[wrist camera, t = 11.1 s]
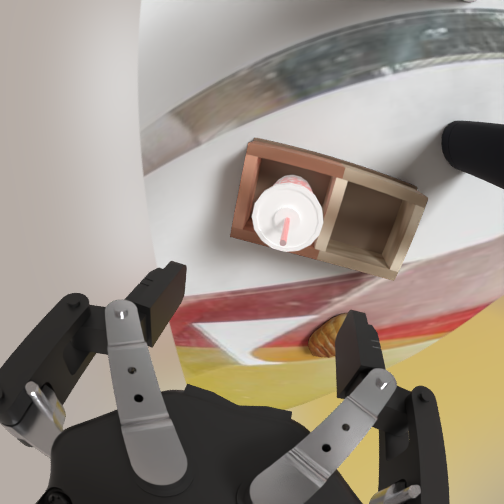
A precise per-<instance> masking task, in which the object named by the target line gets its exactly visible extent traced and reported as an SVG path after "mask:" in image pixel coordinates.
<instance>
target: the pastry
mask: <svg viewBox="0 0 504 504" xmlns="http://www.w3.org/2000/svg"><path fill="white" fill-rule="evenodd" d="M347 314H348V313H344V314H340V315H338V316H336V317H333V318H332V319H330V320H329V321H327V322H326V323H325V324H323V325H322V326H321V327H320V328H319V329H317V330H316V331H315V332H314V333H313V334H312V335H311V337H310V338H309V341H308V347H309V349H310V351H311V353H312V355H313V356H318V357H328V358H330V357H332V356H335V340H336V336H337V333H338V331H339V329H340V327H341V326H342V324H343V322H344V320H345V318H346V316H347Z"/></svg>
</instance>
